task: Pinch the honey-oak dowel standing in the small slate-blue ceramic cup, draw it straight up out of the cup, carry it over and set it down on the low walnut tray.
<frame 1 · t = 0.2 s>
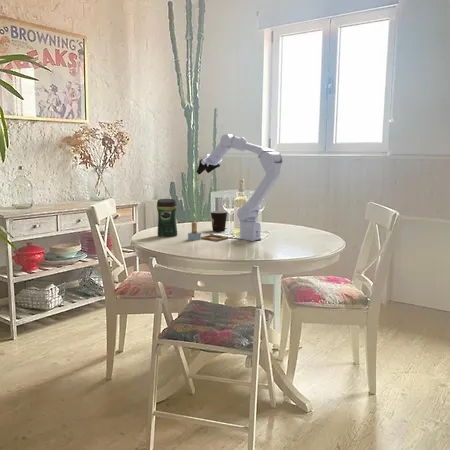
hand: (202, 172, 243), 31 cm above the table, tool tilted 45°, fingers open, 7 cm apart
coffee mug: (218, 230, 255), on the table
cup: (194, 240, 227), on the table
dowel: (194, 239, 227), resting on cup
tray: (214, 239, 229), on the table
coffee jar: (167, 236, 237), on the table
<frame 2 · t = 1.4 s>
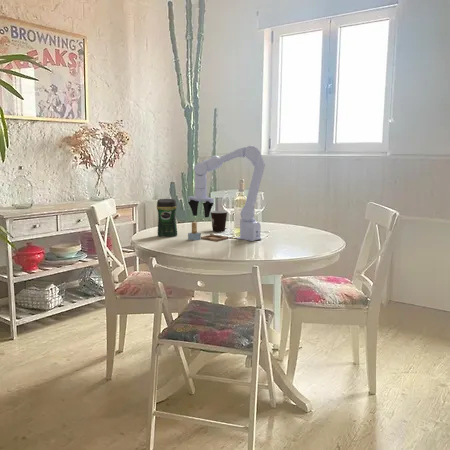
hand: (200, 216, 232), 10 cm above the table, tool pointing down, fingers open, 7 cm apart
nothing on the table moved.
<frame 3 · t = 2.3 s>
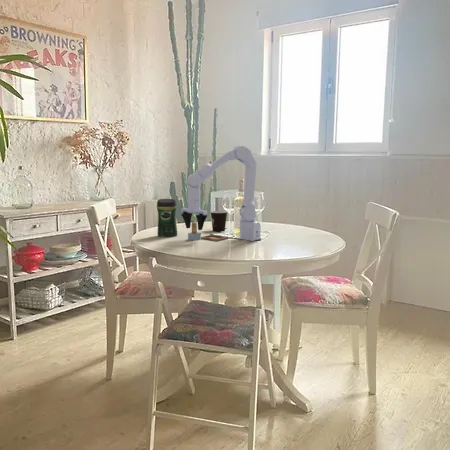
hand: (194, 228, 227), 5 cm above the table, tool pointing down, fingers open, 7 cm apart
nothing on the table moved.
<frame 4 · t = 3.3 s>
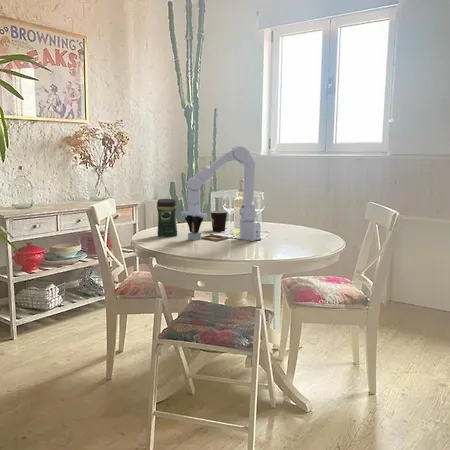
hand: (194, 232, 227), 4 cm above the table, tool pointing down, fingers closed on dowel, 2 cm apart
dowel: (194, 239, 227), resting on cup, touching gripper
everything else where it was.
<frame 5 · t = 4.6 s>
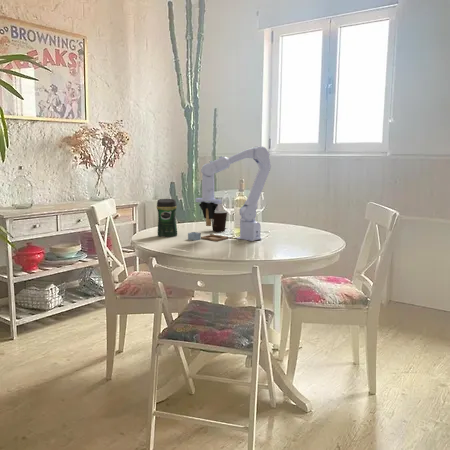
hand: (208, 218, 227), 10 cm above the table, tool pointing down, fingers closed on dowel, 2 cm apart
dowel: (208, 225, 227), point 7 cm above the table, touching gripper
everything else where it was.
when the fingers open (4 cm above the table, at t = 6.2 s): dowel stays where it is, resting on tray.
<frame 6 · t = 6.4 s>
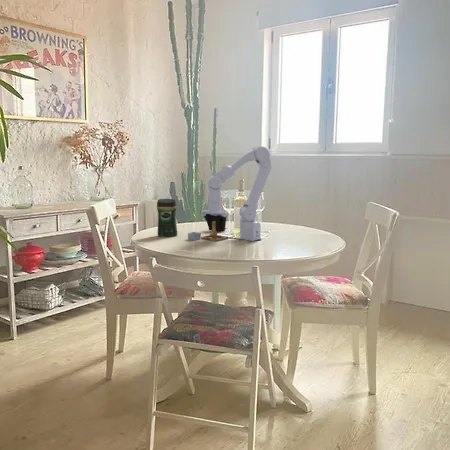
hand: (214, 230, 228), 4 cm above the table, tool pointing down, fingers open, 4 cm apart
dowel: (214, 238, 229), point 1 cm above the table, touching tray
everything else where it was.
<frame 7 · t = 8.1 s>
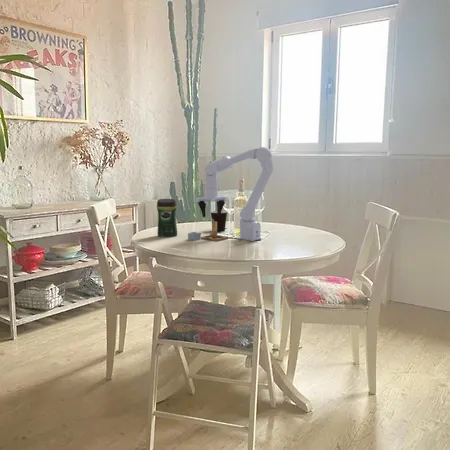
hand: (211, 216, 232), 10 cm above the table, tool pointing down, fingers open, 7 cm apart
nothing on the table moved.
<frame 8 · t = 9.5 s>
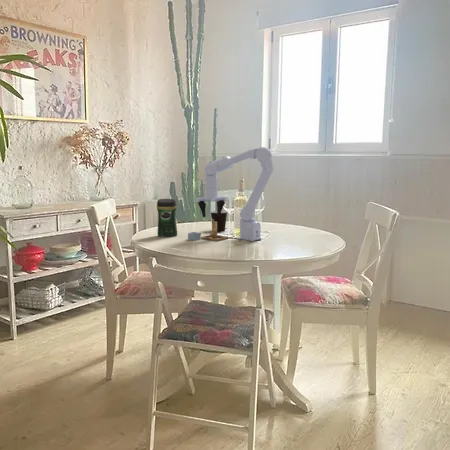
hand: (211, 216, 232), 10 cm above the table, tool pointing down, fingers open, 7 cm apart
nothing on the table moved.
at the end: dowel inside the target area on the tray (0.0 cm from its centre), point 0.6 cm above the tray's base; the gripper is holding nothing; dowel touching tray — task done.
